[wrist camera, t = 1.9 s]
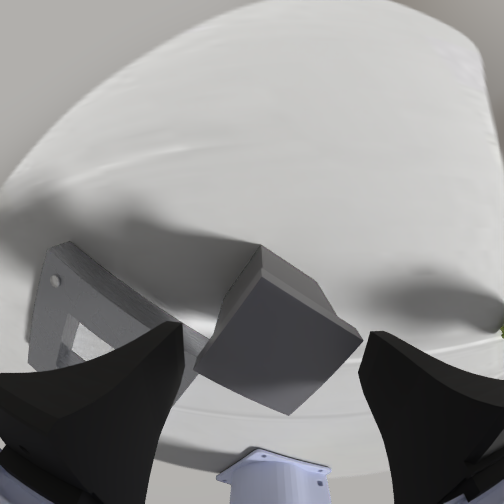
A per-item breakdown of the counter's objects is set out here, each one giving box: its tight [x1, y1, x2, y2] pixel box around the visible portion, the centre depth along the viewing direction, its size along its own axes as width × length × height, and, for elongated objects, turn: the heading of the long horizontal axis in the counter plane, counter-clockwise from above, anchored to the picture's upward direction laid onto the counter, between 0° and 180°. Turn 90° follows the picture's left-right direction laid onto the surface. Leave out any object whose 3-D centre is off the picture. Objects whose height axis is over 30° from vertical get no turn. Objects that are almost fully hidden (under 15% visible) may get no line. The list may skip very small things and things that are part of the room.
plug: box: [193, 245, 364, 416], centre depth 13 cm, size 5×5×7 cm
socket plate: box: [28, 241, 210, 408], centre depth 16 cm, size 12×12×3 cm
